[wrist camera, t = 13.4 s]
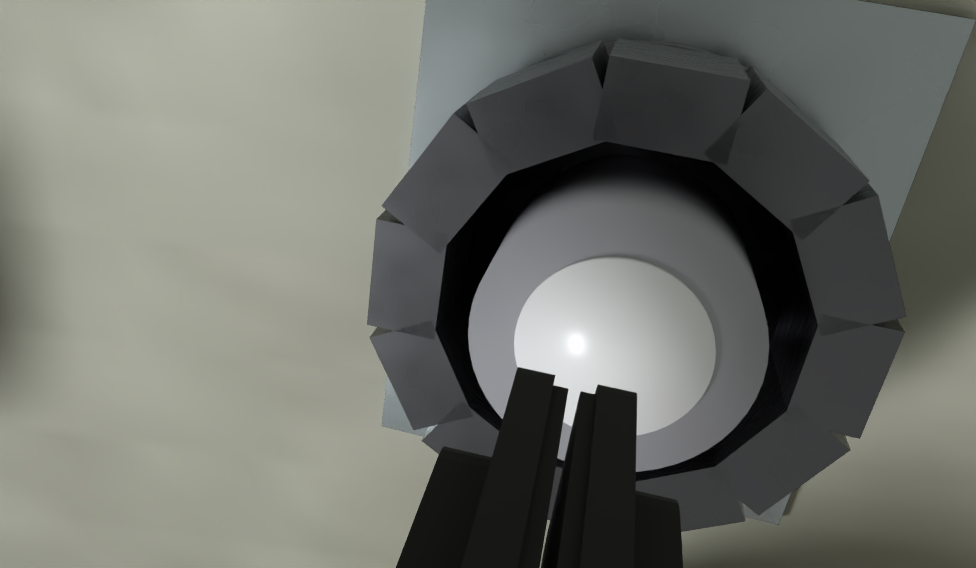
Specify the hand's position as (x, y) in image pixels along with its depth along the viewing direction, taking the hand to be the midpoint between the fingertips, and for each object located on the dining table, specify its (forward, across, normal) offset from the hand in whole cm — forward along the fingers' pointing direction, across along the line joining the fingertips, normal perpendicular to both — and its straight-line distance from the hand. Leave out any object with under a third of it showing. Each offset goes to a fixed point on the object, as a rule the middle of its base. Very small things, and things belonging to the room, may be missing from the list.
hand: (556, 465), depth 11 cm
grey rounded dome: (+9, -1, +1) cm, 9 cm away
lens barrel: (+10, -1, +1) cm, 10 cm away
